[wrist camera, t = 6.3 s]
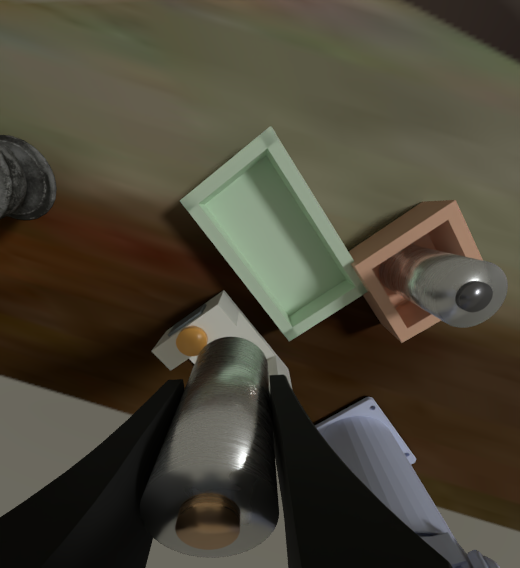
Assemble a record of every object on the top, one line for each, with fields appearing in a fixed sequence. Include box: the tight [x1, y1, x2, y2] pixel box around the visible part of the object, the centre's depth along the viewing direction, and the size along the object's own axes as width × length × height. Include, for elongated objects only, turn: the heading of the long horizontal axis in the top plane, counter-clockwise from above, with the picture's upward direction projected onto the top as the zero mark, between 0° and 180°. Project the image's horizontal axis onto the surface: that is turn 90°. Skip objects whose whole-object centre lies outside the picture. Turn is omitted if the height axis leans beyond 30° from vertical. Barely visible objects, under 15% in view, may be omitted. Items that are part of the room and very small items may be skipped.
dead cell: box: [379, 245, 508, 327], centre depth 15 cm, size 4×4×6 cm
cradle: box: [152, 290, 292, 388], centre depth 19 cm, size 9×6×4 cm, turn 36°
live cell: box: [139, 337, 279, 558], centre depth 9 cm, size 4×4×6 cm
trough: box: [180, 126, 368, 341], centre depth 17 cm, size 12×7×2 cm, turn 36°
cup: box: [348, 200, 483, 343], centre depth 17 cm, size 7×7×3 cm
